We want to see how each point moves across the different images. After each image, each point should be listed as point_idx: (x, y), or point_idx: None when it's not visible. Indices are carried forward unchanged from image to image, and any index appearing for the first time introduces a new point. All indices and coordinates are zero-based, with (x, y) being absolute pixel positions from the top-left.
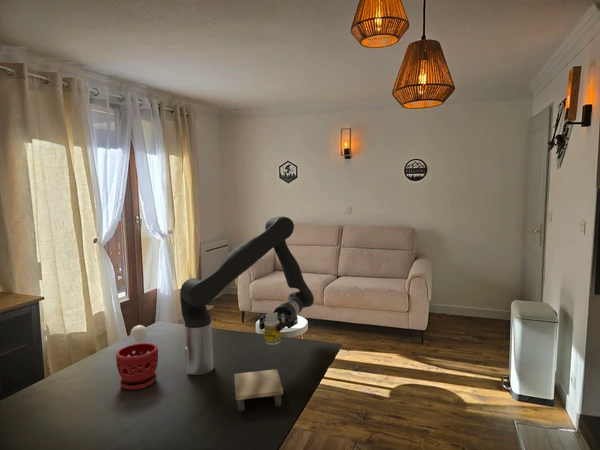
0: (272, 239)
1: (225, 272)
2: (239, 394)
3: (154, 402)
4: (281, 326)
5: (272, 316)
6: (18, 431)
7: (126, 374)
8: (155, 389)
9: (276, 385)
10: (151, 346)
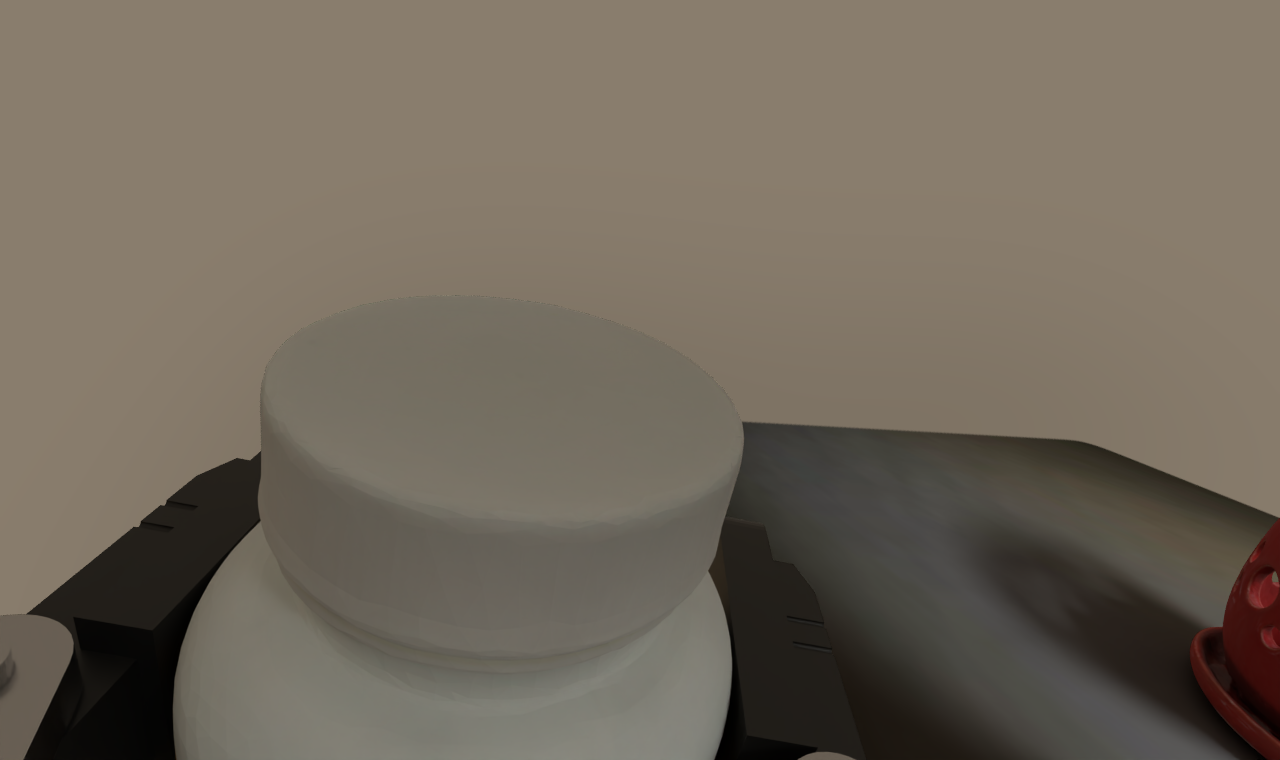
0: None
1: None
2: None
3: (997, 584)
4: (190, 497)
5: (463, 299)
6: (1136, 470)
7: (1276, 584)
8: (1139, 685)
9: None
10: None
